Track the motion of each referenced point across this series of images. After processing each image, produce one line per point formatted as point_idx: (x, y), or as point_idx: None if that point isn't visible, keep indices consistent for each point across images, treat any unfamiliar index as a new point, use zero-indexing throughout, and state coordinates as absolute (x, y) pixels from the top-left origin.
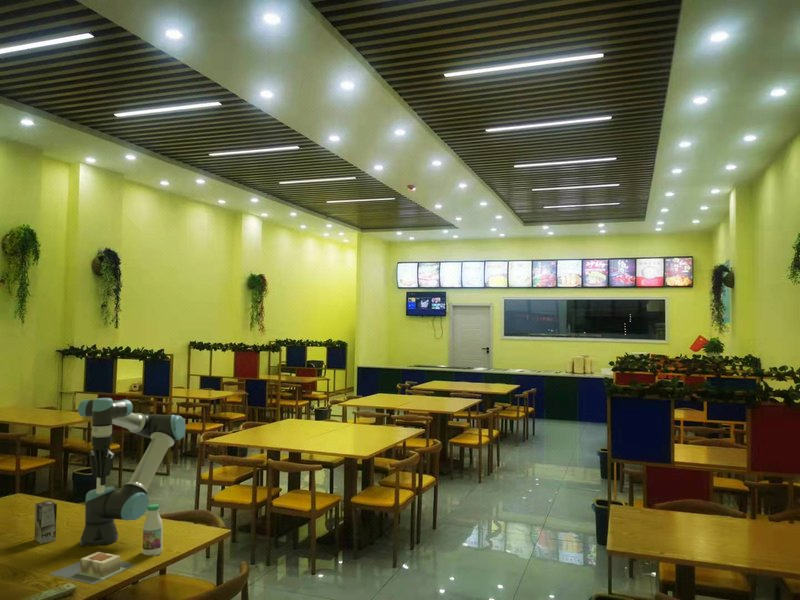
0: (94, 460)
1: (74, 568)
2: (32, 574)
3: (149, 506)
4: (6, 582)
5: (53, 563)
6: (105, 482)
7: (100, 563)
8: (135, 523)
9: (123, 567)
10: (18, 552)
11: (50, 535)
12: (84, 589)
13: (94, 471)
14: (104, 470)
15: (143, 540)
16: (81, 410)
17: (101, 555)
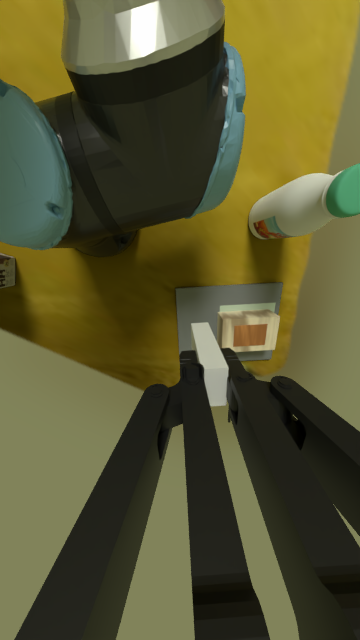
0: (117, 599)
1: None
2: (153, 367)
3: (350, 209)
4: None
5: (138, 332)
6: (236, 355)
7: (267, 349)
8: (31, 22)
9: (268, 301)
10: (34, 328)
11: (4, 269)
12: (263, 366)
13: (167, 441)
14: (306, 459)
15: (272, 236)
16: None
17: (246, 330)
